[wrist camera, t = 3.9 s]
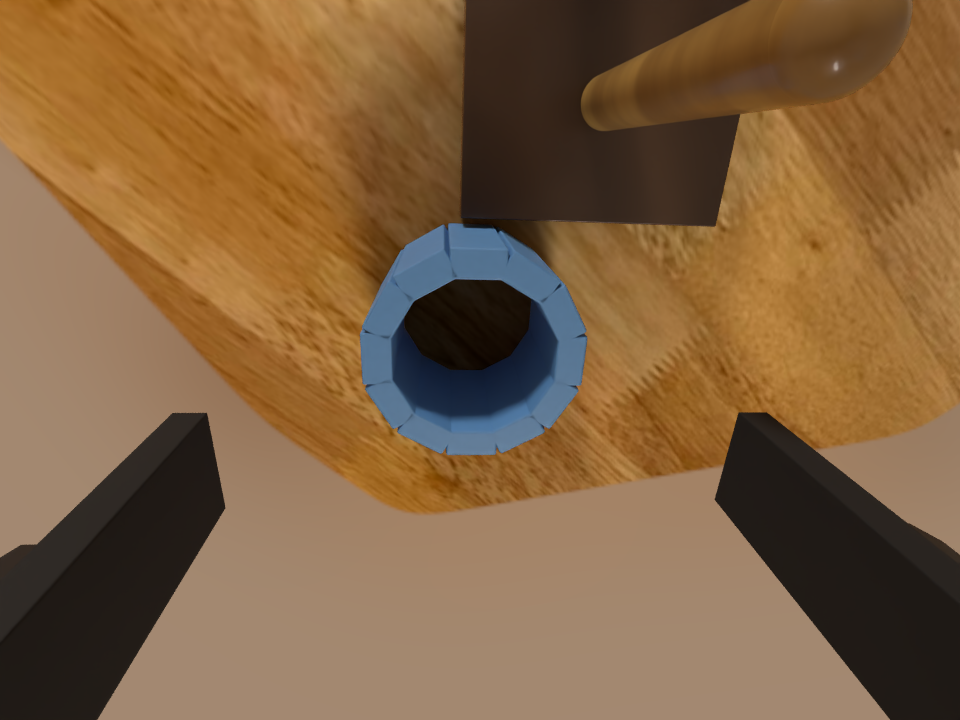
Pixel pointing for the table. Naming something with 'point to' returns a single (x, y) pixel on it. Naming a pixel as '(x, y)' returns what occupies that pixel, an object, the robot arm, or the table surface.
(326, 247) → the table surface
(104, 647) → the robot arm
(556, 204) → the peg stand
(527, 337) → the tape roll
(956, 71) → the table surface
